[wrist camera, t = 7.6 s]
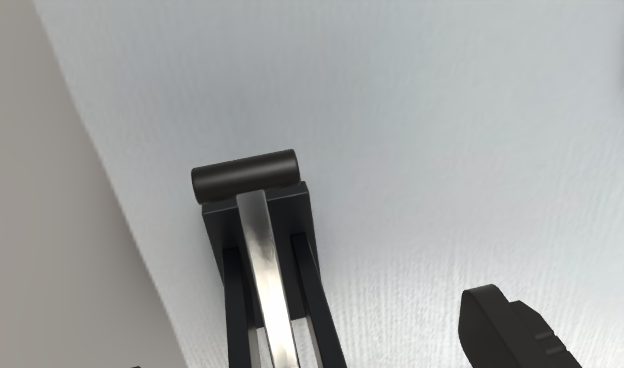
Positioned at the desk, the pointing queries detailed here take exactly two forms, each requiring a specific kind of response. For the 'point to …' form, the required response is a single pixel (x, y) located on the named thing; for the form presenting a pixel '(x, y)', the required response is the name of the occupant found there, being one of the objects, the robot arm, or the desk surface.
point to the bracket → (294, 269)
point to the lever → (258, 234)
